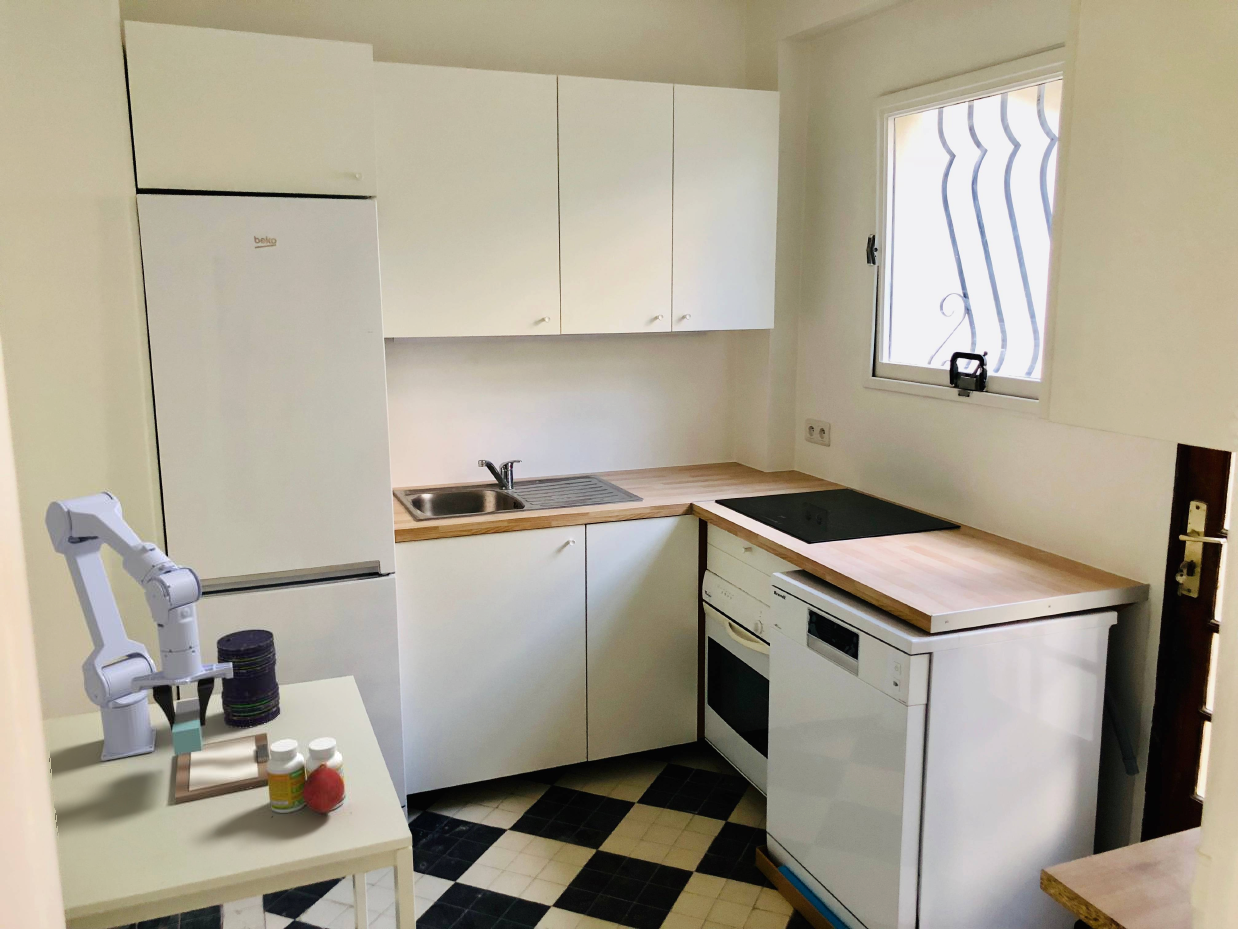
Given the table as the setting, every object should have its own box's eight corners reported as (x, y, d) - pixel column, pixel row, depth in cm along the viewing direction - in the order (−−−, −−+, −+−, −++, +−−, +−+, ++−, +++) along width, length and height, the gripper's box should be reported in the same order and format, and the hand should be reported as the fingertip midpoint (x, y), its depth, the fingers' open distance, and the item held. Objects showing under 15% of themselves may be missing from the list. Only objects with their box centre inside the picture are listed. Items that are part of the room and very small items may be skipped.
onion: (310, 827, 137) (306, 777, 136) (300, 809, 142) (296, 760, 140) (350, 815, 140) (346, 765, 139) (339, 798, 145) (336, 750, 143)
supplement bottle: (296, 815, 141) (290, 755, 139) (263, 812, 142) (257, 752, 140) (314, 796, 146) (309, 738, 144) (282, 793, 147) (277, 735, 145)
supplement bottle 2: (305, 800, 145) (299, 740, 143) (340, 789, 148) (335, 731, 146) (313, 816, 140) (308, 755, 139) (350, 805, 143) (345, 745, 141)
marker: (178, 719, 158) (176, 698, 157) (203, 715, 159) (201, 694, 158) (174, 755, 145) (172, 732, 145) (201, 750, 147) (199, 727, 146)
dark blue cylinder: (286, 702, 180) (279, 627, 177) (274, 725, 170) (267, 647, 167) (231, 706, 178) (223, 631, 175) (216, 730, 169) (208, 651, 166)
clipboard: (179, 754, 160) (178, 744, 160) (267, 738, 165) (266, 728, 165) (175, 803, 145) (174, 792, 144) (272, 783, 150) (271, 773, 150)
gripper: (125, 662, 143) (136, 745, 145) (229, 646, 148) (237, 727, 151) (130, 646, 149) (140, 726, 152) (229, 632, 155) (237, 710, 157)
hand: (188, 726), depth 152 cm, fingers closed on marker, 4 cm apart
